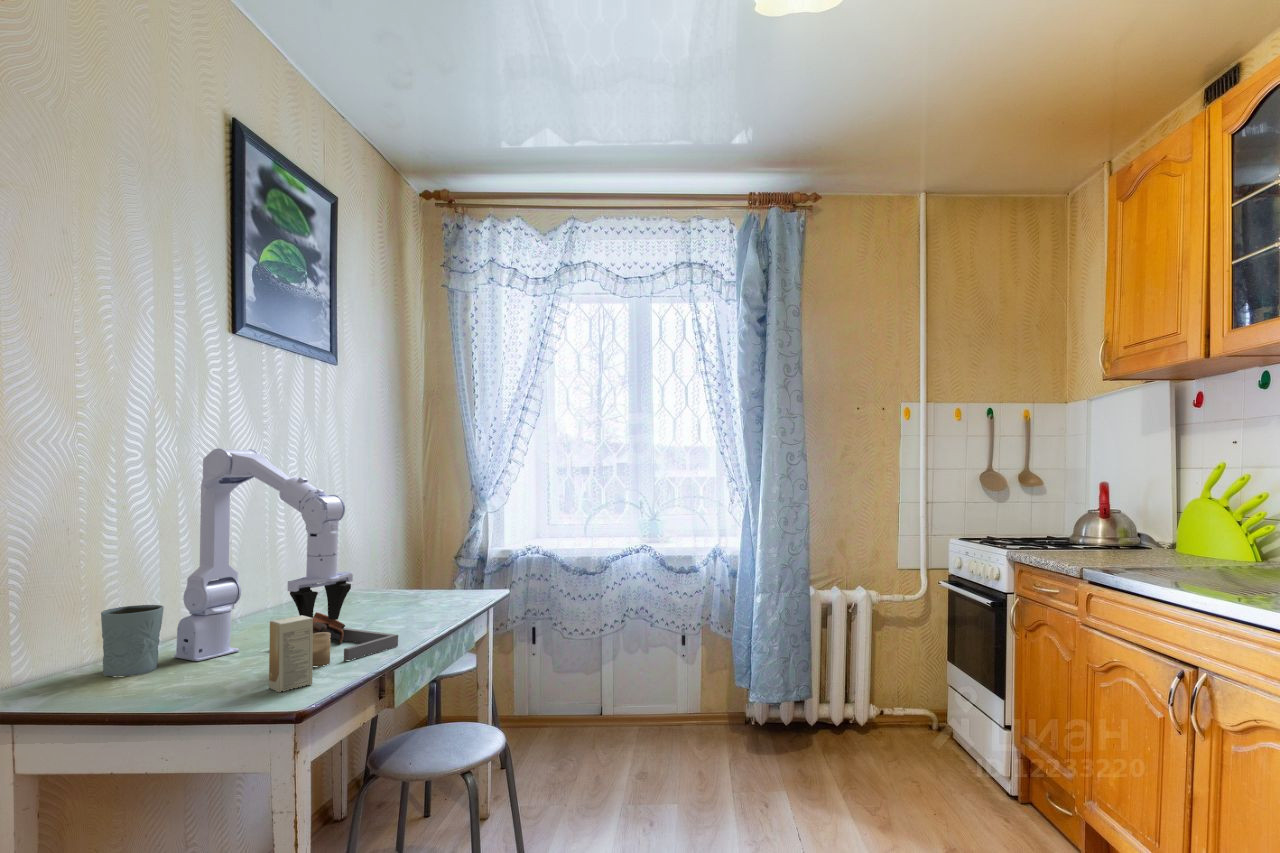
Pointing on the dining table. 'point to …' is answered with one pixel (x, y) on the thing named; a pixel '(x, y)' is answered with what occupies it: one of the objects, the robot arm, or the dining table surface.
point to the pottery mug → (327, 625)
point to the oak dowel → (321, 648)
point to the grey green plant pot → (131, 639)
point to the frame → (365, 642)
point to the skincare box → (290, 653)
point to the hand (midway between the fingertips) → (320, 622)
